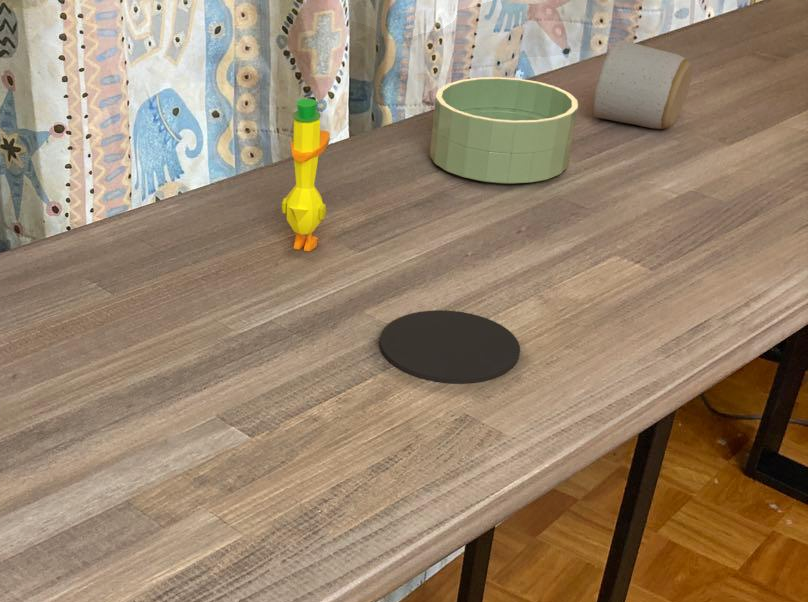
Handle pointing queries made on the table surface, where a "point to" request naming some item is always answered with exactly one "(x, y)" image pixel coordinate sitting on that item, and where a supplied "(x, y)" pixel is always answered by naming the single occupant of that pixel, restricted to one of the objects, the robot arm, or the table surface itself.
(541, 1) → the beverage cup
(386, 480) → the table surface
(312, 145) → the toy figure
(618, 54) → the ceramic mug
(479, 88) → the bowl
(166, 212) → the table surface
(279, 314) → the table surface
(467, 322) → the coaster
